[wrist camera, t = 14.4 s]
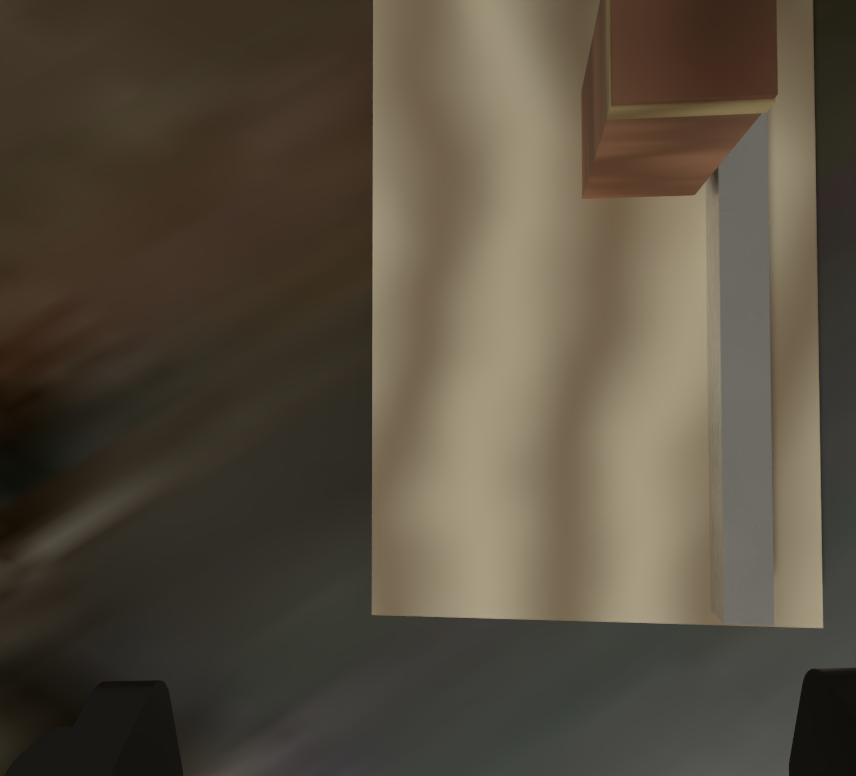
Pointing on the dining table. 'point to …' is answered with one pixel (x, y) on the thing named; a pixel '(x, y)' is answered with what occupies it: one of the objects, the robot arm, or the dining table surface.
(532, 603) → the board
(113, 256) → the dining table surface
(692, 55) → the brown squarish block
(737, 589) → the rail
